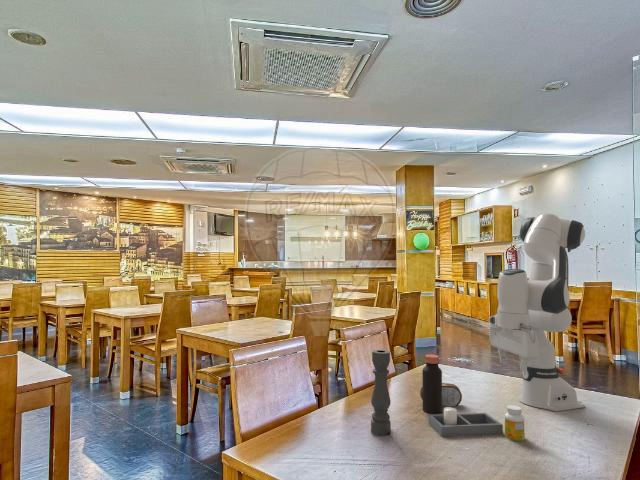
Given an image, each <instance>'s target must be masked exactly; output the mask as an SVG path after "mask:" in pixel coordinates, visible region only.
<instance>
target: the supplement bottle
mask: <svg viewBox="0 0 640 480" xmlns="http://www.w3.org/2000/svg"><path fill="white" fill-rule="evenodd" d="M506 411H507V412H505V414H504V436H505V438H506V439H507V440H510V441H513V442H523V441H525V436H526V435H525V417H524V415H522V413H523V412H522V411H523V410H522V407H521V406H518V405H514V404H513V405H512V404H509V405H507V406H506Z"/></svg>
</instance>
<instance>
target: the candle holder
mask: <svg viewBox="0 0 640 480" xmlns="http://www.w3.org/2000/svg"><path fill="white" fill-rule="evenodd" d="M371 354H372V355H371V359H372V360H371V361H372V364H373V366H374V368H373V369H372V373H373V374H374V387H373V391H372V395H371V399H370V400H371V402H370V403H371V406H372V407H373V410H374V412H372V414H371V420H370V432H371V434H373V435H375V436H379V437H385V436H390V434H391V429H392V428H391V424H392V423H391V420H390V419H391V417H390V415H389V413H388V411H389V408H390V406H391V403H392V402H391V396H390V393H389V388H388V387H389V386H388V375H389V374H390V370H389V369H388V368H389V366H390V363H391V352H390V350H387V349H372V351H371Z"/></svg>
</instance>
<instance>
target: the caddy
mask: <svg viewBox="0 0 640 480" xmlns="http://www.w3.org/2000/svg"><path fill="white" fill-rule="evenodd" d="M427 417H428V418H427V419H428V421H427V422H428V425H430V427H432V428H433V430H435V432H436V433H437V434H438V435H439V436H440V437H457V436H459V437H460V436H476V435H477V436H478V435H479V436H480V435H481V436H482V435H496V434H497V435H498V434H500V435H501V434H502V435H503V433H504V432H503V431H504V430H503V429H504V426H503V423H501V422H500V421H499V420H497V419H496V418H494V417H493V416H491V415H489V414H488V413H487V412H472V413H471V412H469V413H468V412H467V413H457V425H447V426H444V413H440V414H428V416H427Z"/></svg>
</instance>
